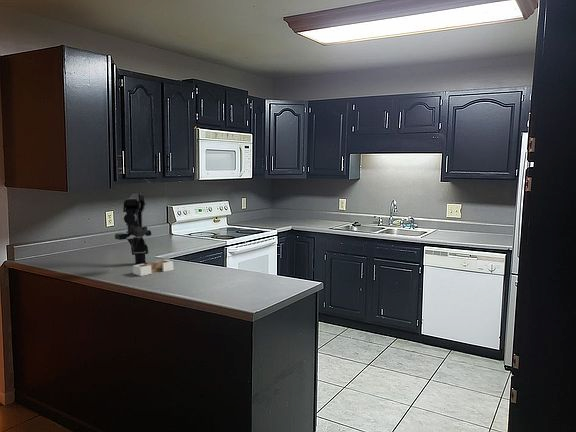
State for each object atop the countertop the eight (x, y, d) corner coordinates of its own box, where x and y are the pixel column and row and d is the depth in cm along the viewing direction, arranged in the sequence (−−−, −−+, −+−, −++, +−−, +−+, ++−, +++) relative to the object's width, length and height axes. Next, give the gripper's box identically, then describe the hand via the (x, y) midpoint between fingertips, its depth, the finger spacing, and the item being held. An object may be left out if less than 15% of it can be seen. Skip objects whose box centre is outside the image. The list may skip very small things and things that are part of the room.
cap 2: (155, 269, 259) (155, 261, 258) (165, 267, 263) (165, 259, 263) (163, 271, 253) (163, 263, 253) (173, 269, 258) (173, 261, 257)
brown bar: (163, 269, 261) (162, 260, 260) (167, 269, 259) (166, 260, 258) (139, 274, 248) (138, 265, 247) (143, 275, 246) (142, 266, 245)
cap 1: (133, 273, 249) (132, 265, 248) (143, 271, 253) (143, 263, 253) (140, 276, 243) (140, 267, 243) (151, 273, 248) (151, 265, 247)
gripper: (124, 225, 239) (125, 254, 240) (156, 221, 252) (157, 249, 254) (113, 223, 246) (115, 252, 248) (145, 219, 260) (146, 247, 262)
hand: (134, 250), depth 253 cm, fingers closed
